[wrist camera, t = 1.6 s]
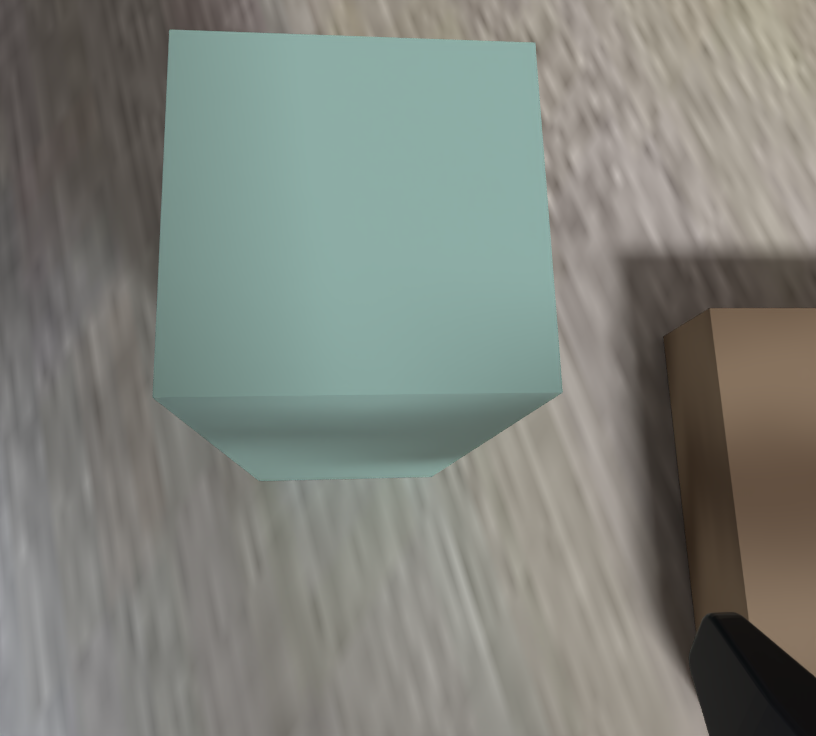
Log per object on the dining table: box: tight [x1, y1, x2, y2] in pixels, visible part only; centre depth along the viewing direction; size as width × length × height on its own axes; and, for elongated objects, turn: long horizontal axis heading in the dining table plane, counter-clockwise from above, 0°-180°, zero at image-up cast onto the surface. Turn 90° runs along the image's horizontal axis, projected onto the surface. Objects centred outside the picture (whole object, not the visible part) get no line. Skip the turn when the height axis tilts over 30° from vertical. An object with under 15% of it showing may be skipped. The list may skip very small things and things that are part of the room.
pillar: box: [153, 30, 563, 481], centre depth 16 cm, size 5×5×13 cm
